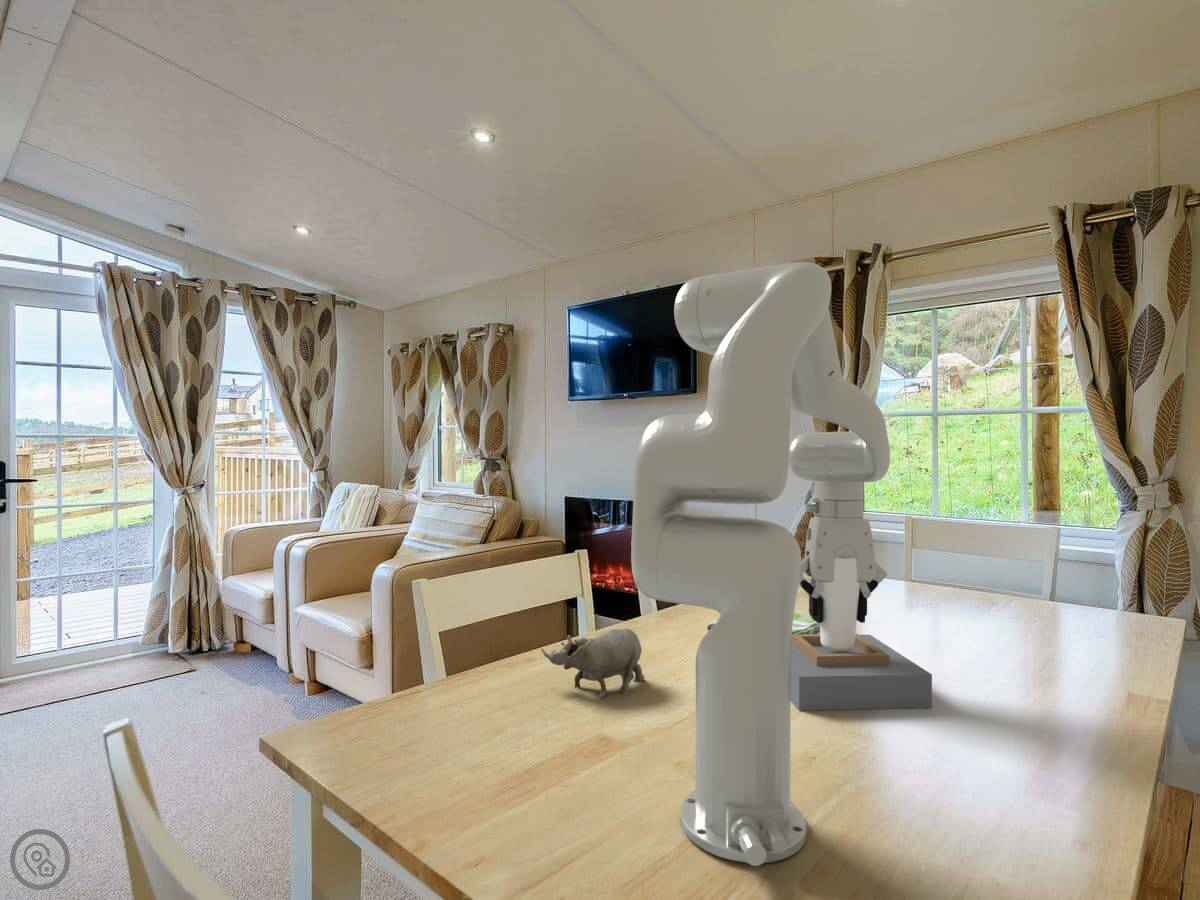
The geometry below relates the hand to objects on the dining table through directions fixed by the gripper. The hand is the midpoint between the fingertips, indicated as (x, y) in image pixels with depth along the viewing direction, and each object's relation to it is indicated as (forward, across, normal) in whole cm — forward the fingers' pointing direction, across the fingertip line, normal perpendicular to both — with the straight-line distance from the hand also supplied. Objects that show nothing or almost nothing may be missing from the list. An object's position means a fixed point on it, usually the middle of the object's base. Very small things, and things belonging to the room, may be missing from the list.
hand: (837, 619), depth 106 cm
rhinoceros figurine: (+11, -39, 0) cm, 41 cm away
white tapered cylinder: (+5, 0, 0) cm, 5 cm away
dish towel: (+11, -1, +31) cm, 33 cm away
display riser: (+11, 0, 0) cm, 11 cm away
